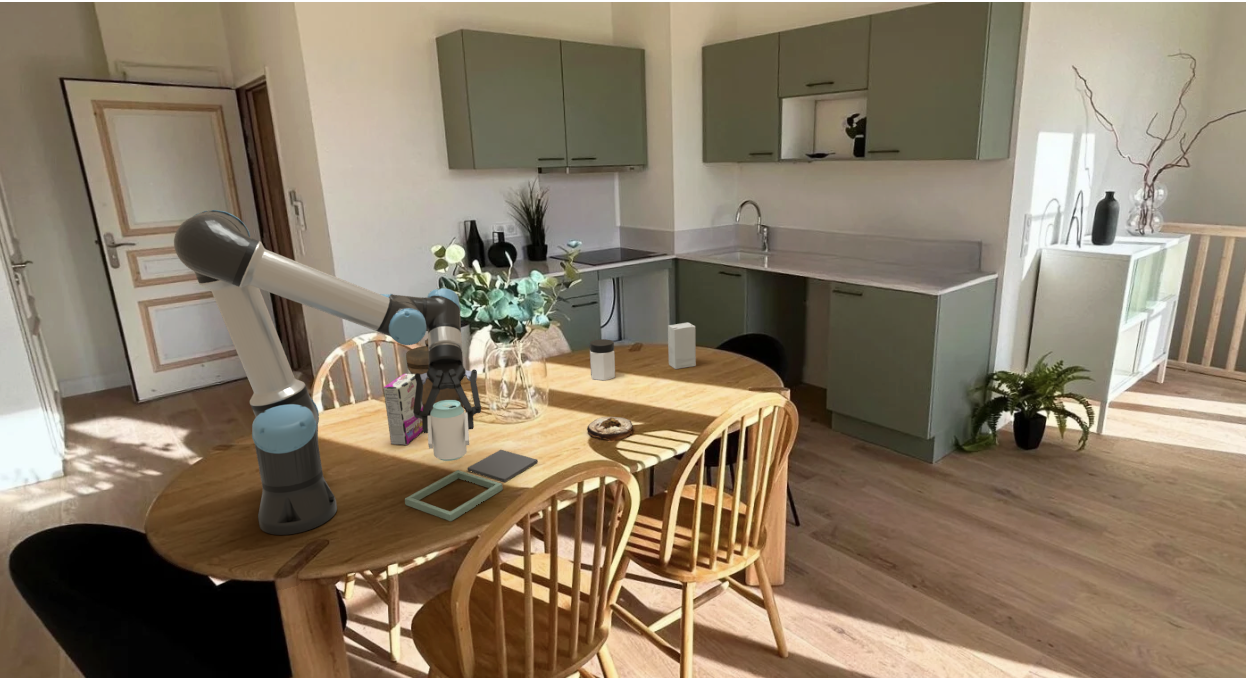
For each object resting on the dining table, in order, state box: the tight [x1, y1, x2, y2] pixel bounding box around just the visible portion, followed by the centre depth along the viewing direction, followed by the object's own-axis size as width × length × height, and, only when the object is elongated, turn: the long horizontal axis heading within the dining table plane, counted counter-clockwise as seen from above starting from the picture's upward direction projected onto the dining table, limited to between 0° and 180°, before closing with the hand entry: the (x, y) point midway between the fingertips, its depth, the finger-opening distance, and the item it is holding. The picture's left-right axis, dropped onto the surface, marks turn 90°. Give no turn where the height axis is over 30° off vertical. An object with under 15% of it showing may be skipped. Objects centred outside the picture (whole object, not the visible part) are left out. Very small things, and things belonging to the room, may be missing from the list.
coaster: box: [466, 449, 539, 483], centre depth 169 cm, size 12×12×1 cm
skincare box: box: [667, 322, 697, 370], centre depth 241 cm, size 8×6×15 cm
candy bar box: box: [382, 373, 424, 446], centre depth 186 cm, size 11×5×16 cm, turn 168°
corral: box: [404, 469, 504, 522], centre depth 154 cm, size 16×14×2 cm
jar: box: [589, 338, 616, 381], centre depth 232 cm, size 9×8×12 cm
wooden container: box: [405, 338, 464, 416], centre depth 205 cm, size 15×15×22 cm
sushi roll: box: [586, 416, 634, 443], centre depth 188 cm, size 15×15×4 cm
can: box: [430, 400, 468, 462], centre depth 150 cm, size 7×7×12 cm
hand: (449, 444), depth 147 cm, fingers closed on can, 7 cm apart
